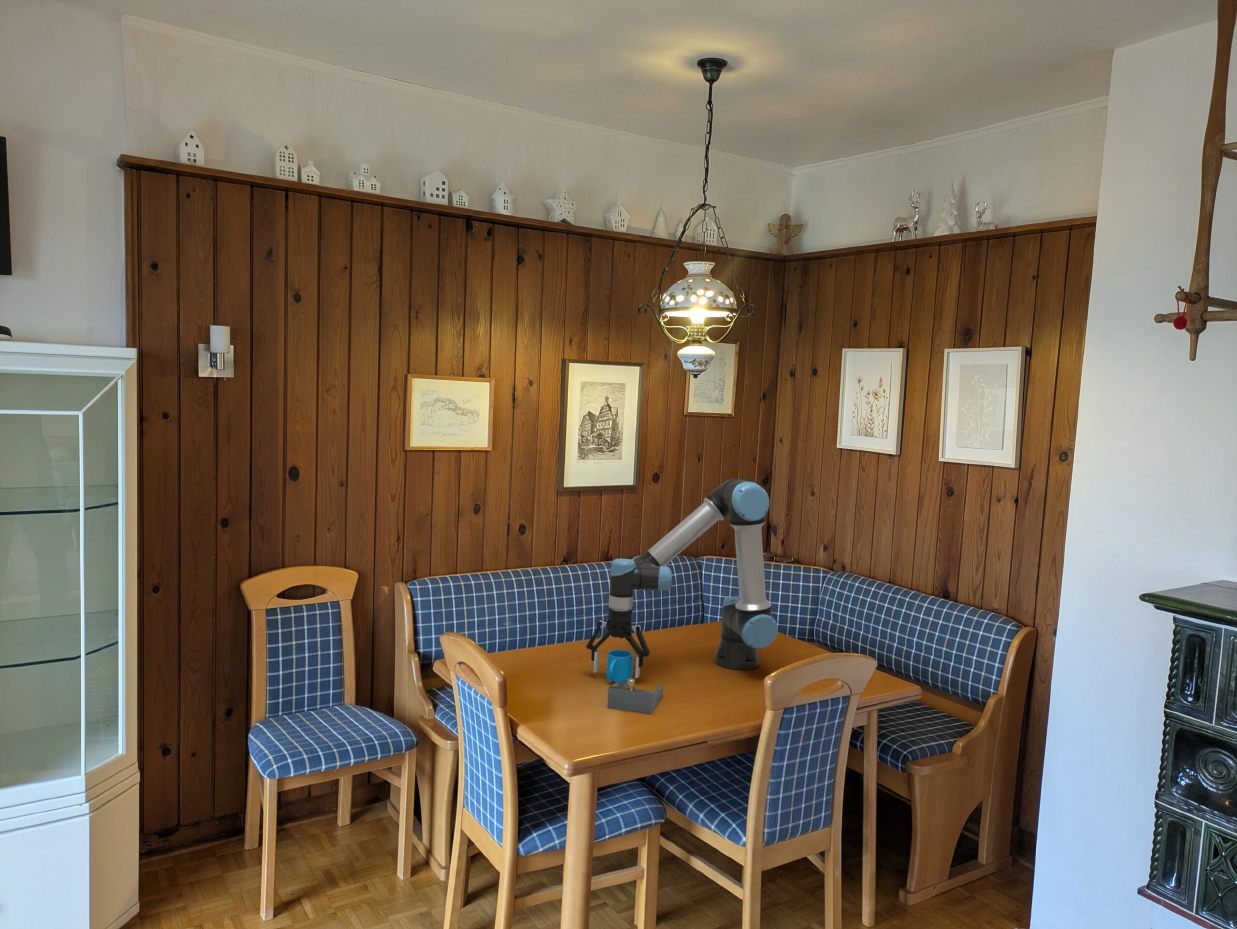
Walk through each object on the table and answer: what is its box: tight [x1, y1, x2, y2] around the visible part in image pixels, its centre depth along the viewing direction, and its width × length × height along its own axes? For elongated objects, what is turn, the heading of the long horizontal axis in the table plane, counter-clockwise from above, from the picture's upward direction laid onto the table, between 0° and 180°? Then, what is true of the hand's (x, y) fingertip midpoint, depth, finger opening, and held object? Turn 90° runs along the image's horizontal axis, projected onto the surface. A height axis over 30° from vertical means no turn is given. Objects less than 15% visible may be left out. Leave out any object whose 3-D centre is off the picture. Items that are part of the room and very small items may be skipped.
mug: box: [606, 649, 634, 684], centre depth 277 cm, size 12×8×8 cm
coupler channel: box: [607, 677, 664, 715], centre depth 259 cm, size 13×16×9 cm
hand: (616, 674), depth 278 cm, fingers open, 13 cm apart
